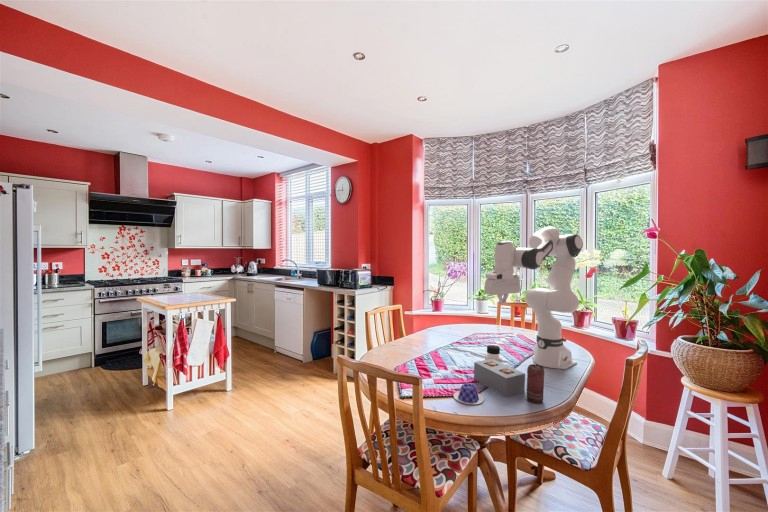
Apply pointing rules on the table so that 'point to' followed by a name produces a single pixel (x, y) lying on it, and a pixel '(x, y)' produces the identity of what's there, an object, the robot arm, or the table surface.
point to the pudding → (468, 395)
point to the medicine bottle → (493, 353)
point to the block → (499, 377)
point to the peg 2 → (506, 371)
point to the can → (535, 383)
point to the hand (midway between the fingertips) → (502, 303)
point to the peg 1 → (491, 364)
